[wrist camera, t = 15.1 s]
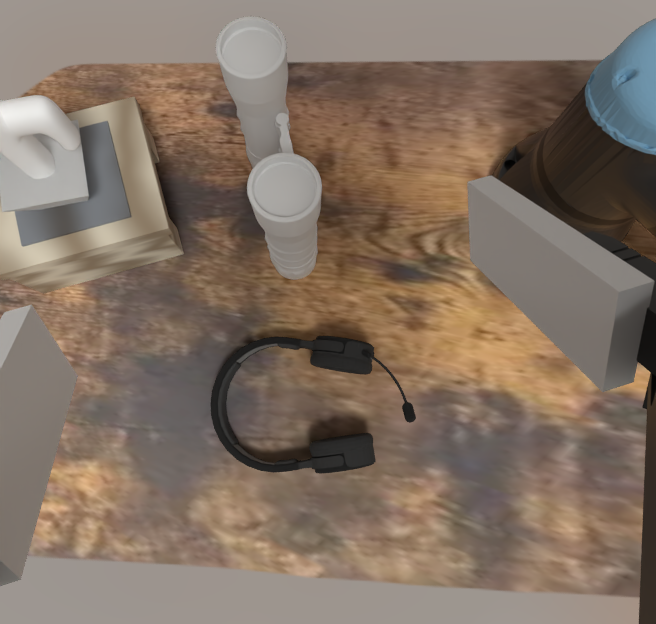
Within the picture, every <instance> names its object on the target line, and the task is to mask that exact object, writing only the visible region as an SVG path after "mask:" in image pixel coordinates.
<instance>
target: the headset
mask: <svg viewBox="0 0 656 624" xmlns="http://www.w3.org/2000/svg"><path fill="white" fill-rule="evenodd" d="M274 346H279V347H281V348H289V349H294V350H298V349H299V348H306V349H311V350H312V351H313V354H312V355H311V359H310V362H311V364H312V365H314V366H316V367H320V368H325V369H330V370H335V371H341V372H348V373H355V374H370V372H371V371H372V359H374V360H375V361H376V362H378V363H379V364H380V365H381V366H382V367H383V368H384V369H385V370H386V371H387V372H388V373H389V374H390V376H391V377H392V378H393V380H394V381H395V383H396V384H397V386H398V388H399V390H400V392H401V394H402V396H403V399H404V401H405V403H404V404H403V406H402V409H403V412H404V416H405V419H406V421H407V422H413V421H414V420H415V419H416V416H415V413H414V409H413V406H412V404H411V403H408V402H407V400H406V398H405V395H404V393H403V391H402V389H401V387H400V385H399V383H398V382H397V380H396V379H395V377H394V376H393V374H392V373H391V372H390V371H389V370H388V368H387V367H386V366H384V365H383V364H382V363H381V362H380V361H379V360H377V359H376V358H375V357H374V347H373V346H372V345H371V344H369V343H366V342H362V341H358V340H353V339H347V338H341V337H333V336H318V337H317V338H316V340H313V341H305V340H301V339H295V338H288V337H270V338H263V339H260V340H257V341H254V342H252V343H250V344H248V345H246V346H244V347H242V348H241V349H240V350H238V351H237V352H236V353H235V354H233V355H232V356H231V357H230V358H229V360H228V361H227V362H226V363H225V364H224V366H223V367H222V369H221V371H220V372H219V374H218V376H217V378H216V381H215V384H214V387H213V390H212V397H211V416H212V420H213V425H214V429H215V431H216V433H217V435H218V437H219V439H220V441H221V442H222V444H223V445H224V447H225V448H226V449H227V451H228V452H229V453H230V454H232V455H233V456H234V457H235V458H236V459H237V460H239V461H240V462H242V463H244V464H245V465H247V466H249V467H252V468H255V469H257V470H260V471H267V472H286V471H292V470H298V469H302V468H311V467H312V469H315V472H316V473H332V472H340V471H346V470H352V469H357V468H362V467H366V466H370V465H372V464H374V462H375V455H374V449H373V437H372V435H371V434H369V433H361V434H354V435H347V436H340V437H334V438H328V439H323V440H318V441H314V442H312V443H310V446H309V449H310V452H311V454H312V458H310V459H308V460H303V461H301V460H300V461H298V460H297V459H290V460H280V461H278V462H276V463H273V462H266V461H263V460H261V459H258V458H255V457H254V456H252V455H251V454H249V453H247V452H246V451H245V450H244V449H243V448H242V447H241V446H240V445H238V441H237V439H236V437H235V436H234V435H233V433H232V430H231V428H230V426H229V423H228V419H227V415H226V398H227V391H228V388H229V385H230V382H231V380H232V378H233V376H234V375H235V373H236V371H237V370H238V369H239V368H240V366H241V365H240V364H241V363H242V362H243V361H244V360H245V359H247V358H248V357H249V356H250V355H252V354H254V353H256V352H258V351H259V350H262V349H265V348H268V347H274Z"/></svg>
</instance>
